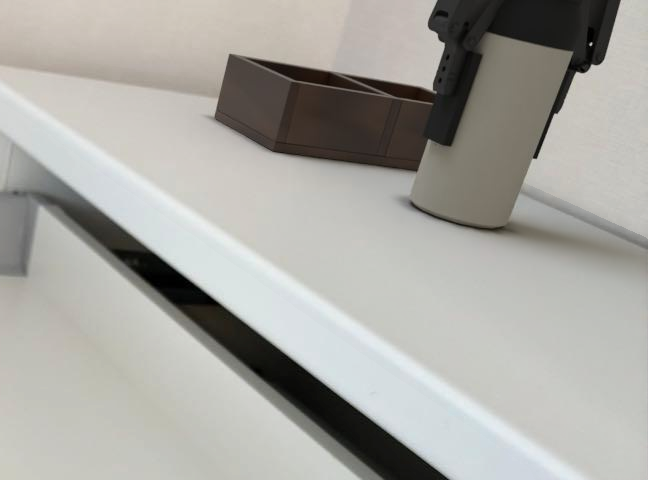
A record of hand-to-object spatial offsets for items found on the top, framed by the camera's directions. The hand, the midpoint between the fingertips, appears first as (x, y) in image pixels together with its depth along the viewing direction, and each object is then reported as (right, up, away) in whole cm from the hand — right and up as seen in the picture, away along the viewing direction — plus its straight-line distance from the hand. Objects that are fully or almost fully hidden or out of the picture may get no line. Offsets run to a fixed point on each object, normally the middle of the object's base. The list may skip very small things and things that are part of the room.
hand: (480, 147), depth 85 cm
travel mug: (-1, -5, +3) cm, 5 cm away
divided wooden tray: (-6, +7, +20) cm, 22 cm away
